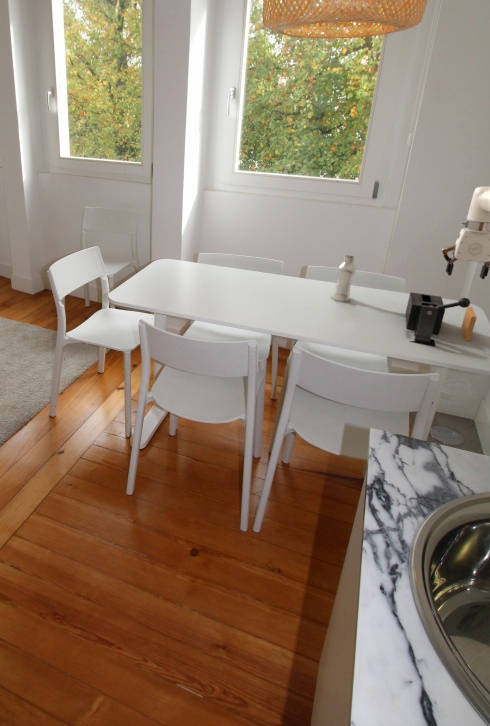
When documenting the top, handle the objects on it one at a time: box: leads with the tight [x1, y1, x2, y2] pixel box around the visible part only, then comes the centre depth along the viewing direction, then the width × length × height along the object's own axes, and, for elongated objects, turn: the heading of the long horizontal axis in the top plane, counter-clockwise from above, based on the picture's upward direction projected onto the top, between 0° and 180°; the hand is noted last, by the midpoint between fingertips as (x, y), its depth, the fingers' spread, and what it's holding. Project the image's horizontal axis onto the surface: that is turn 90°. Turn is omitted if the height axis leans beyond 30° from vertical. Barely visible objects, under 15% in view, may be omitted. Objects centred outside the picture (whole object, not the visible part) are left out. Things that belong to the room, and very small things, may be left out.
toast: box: [460, 306, 478, 342], centre depth 161 cm, size 2×10×10 cm, turn 154°
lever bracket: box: [408, 301, 438, 348], centre depth 156 cm, size 8×8×14 cm
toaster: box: [404, 292, 446, 336], centre depth 168 cm, size 10×14×11 cm
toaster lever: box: [428, 297, 471, 310], centre depth 152 cm, size 13×3×3 cm, turn 65°
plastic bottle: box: [332, 254, 356, 302], centre depth 188 cm, size 6×7×20 cm
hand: (465, 276), depth 158 cm, fingers open, 9 cm apart
